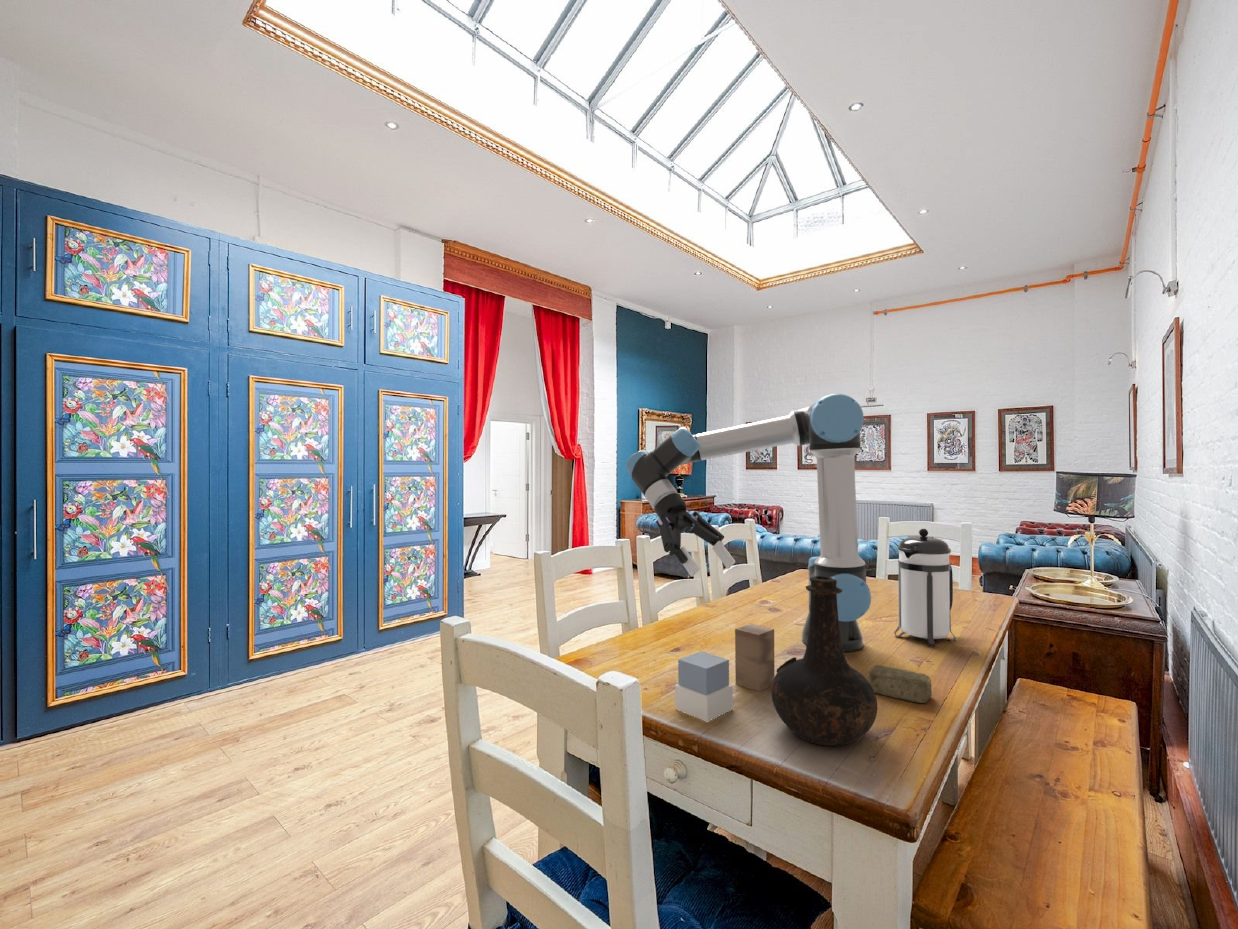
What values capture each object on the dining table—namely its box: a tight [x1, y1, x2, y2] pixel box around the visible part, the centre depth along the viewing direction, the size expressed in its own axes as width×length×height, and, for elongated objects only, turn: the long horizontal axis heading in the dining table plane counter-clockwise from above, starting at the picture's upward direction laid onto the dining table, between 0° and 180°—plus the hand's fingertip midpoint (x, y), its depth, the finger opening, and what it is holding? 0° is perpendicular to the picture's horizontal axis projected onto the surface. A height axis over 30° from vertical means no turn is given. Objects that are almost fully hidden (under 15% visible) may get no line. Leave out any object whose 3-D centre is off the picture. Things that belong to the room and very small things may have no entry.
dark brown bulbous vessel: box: [771, 576, 878, 747], centre depth 100 cm, size 18×18×28 cm
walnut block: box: [734, 623, 776, 692], centre depth 123 cm, size 6×6×12 cm
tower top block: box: [677, 650, 730, 695], centre depth 111 cm, size 7×7×5 cm
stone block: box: [868, 664, 933, 704], centre depth 117 cm, size 6×12×5 cm, turn 53°
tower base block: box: [674, 683, 734, 723], centre depth 111 cm, size 8×8×5 cm
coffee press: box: [893, 528, 956, 647], centre depth 155 cm, size 17×16×30 cm
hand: (714, 569), depth 131 cm, fingers open, 13 cm apart
